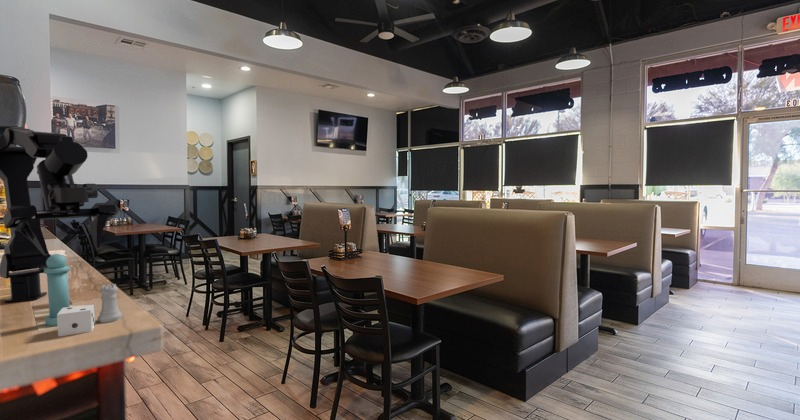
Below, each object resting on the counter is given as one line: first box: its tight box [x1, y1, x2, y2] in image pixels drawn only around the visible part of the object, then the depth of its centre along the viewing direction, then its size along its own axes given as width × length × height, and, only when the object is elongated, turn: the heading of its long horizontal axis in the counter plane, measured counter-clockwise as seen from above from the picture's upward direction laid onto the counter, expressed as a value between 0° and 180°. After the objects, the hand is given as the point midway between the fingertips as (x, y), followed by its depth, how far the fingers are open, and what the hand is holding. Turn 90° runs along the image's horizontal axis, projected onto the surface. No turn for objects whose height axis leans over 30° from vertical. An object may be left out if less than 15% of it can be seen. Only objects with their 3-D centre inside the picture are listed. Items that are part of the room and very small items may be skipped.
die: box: [57, 303, 96, 338], centre depth 80 cm, size 5×5×5 cm
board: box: [31, 299, 75, 332], centre depth 91 cm, size 24×7×1 cm, turn 44°
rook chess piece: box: [97, 283, 124, 324], centre depth 86 cm, size 4×4×8 cm
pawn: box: [43, 253, 71, 327], centre depth 84 cm, size 5×5×14 cm
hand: (72, 251), depth 89 cm, fingers open, 9 cm apart
